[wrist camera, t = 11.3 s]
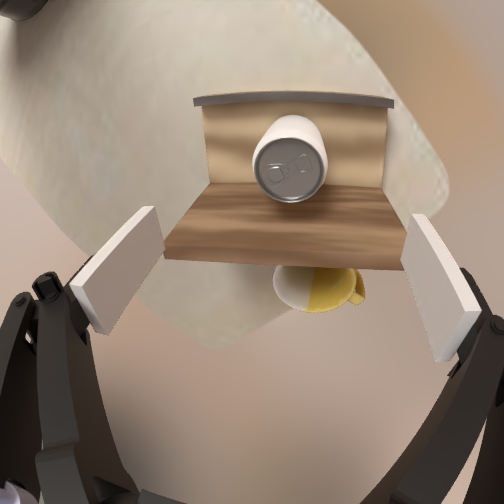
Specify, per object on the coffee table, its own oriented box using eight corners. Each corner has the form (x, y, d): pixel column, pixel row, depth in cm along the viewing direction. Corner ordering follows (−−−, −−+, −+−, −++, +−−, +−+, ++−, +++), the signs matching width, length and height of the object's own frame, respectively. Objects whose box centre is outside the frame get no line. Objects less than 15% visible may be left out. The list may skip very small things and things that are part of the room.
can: (257, 127, 31) (234, 151, 22) (308, 105, 29) (310, 119, 19) (280, 173, 34) (269, 218, 24) (329, 155, 32) (341, 193, 22)
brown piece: (208, 95, 32) (134, 113, 18) (381, 96, 29) (445, 115, 14) (217, 185, 40) (164, 258, 25) (374, 190, 36) (414, 271, 21)
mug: (265, 236, 43) (254, 281, 35) (316, 193, 38) (319, 231, 29) (324, 288, 47) (325, 336, 38) (373, 255, 42) (386, 301, 33)
